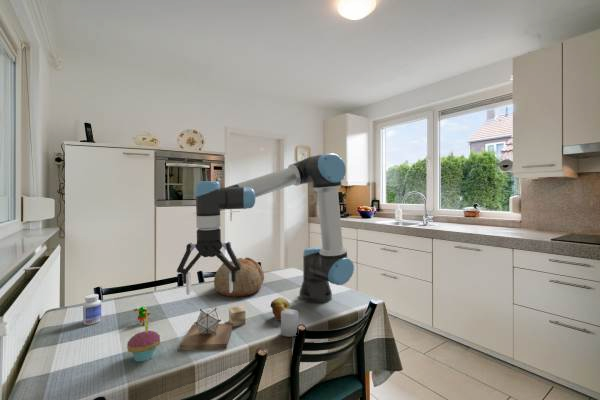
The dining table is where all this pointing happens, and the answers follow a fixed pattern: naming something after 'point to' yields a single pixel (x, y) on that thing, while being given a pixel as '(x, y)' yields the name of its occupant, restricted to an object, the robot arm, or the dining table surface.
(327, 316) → the dining table surface
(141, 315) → the toy character
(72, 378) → the dining table surface
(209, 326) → the game die
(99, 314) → the pill bottle
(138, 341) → the cupcake
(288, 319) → the white rounded cylinder
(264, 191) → the robot arm
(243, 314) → the beech block
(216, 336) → the board
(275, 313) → the fruit
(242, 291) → the bread
